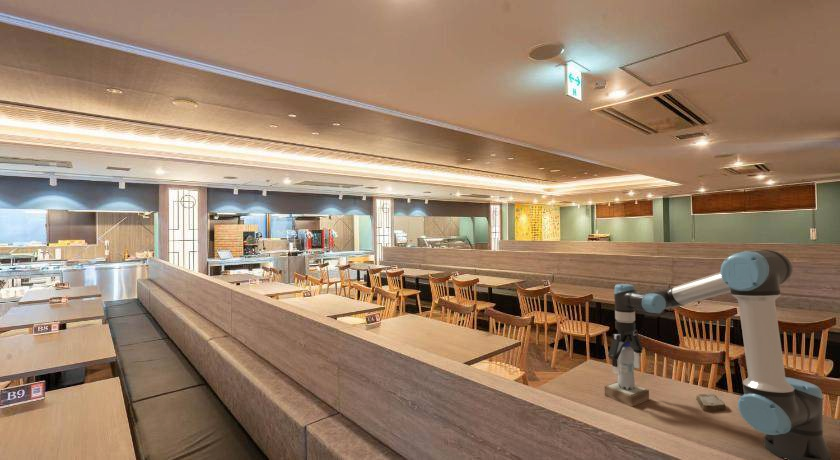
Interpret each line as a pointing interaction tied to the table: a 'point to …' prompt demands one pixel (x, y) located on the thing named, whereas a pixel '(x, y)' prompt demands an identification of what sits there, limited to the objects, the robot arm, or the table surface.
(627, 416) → the table surface
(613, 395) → the picture frame
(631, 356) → the bottle
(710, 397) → the stone
